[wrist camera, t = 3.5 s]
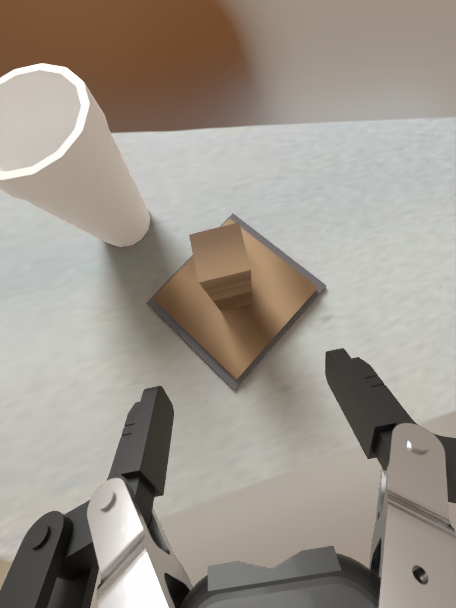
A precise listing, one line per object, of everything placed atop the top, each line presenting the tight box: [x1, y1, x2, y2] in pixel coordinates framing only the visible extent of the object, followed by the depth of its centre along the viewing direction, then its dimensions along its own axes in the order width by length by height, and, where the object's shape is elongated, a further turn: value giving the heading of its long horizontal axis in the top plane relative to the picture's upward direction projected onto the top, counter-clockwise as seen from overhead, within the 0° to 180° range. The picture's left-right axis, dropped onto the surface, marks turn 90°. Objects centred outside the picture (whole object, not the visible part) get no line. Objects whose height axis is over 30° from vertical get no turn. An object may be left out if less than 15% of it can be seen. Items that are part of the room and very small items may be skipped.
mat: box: [146, 214, 326, 390], centre depth 25 cm, size 14×13×1 cm
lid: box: [153, 218, 318, 380], centre depth 19 cm, size 12×12×11 cm
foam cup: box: [0, 63, 151, 247], centre depth 22 cm, size 10×9×13 cm
